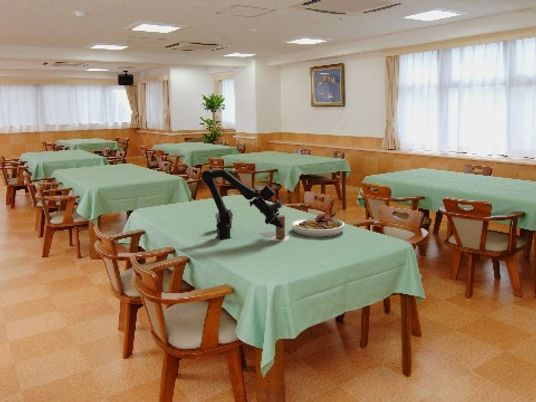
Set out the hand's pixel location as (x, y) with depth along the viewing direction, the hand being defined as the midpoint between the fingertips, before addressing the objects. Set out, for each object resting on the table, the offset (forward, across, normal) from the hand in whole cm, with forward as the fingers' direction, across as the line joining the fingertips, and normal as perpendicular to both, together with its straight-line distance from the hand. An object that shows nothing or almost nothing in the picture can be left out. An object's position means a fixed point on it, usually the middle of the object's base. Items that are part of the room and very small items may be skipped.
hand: (283, 226), depth 267 cm
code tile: (+4, 0, +6) cm, 7 cm away
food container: (-22, +19, +32) cm, 44 cm away
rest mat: (-1, +8, +11) cm, 14 cm away
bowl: (+18, +19, -8) cm, 27 cm away
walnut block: (+4, 0, +5) cm, 6 cm away
